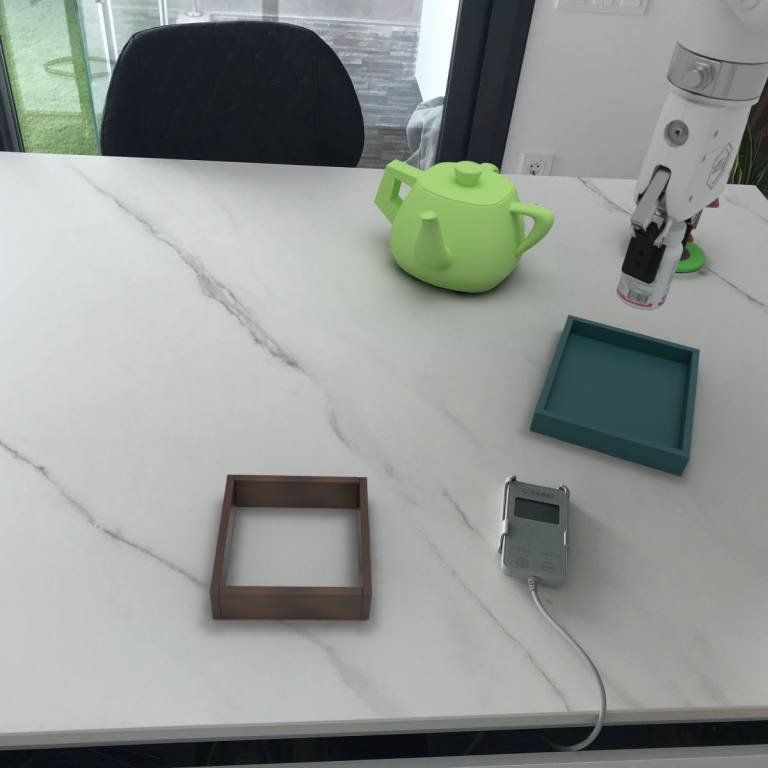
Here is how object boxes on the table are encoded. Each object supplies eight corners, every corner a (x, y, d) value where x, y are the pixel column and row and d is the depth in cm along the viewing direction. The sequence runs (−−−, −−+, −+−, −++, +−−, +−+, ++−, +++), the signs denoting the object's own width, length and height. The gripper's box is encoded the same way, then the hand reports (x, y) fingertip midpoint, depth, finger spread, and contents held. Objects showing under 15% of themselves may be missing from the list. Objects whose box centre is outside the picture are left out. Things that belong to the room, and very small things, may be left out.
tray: (681, 476, 78) (689, 458, 76) (529, 430, 81) (534, 411, 80) (692, 366, 92) (700, 349, 90) (563, 331, 96) (568, 314, 94)
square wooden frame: (364, 502, 72) (367, 476, 69) (368, 620, 62) (371, 594, 60) (229, 500, 71) (227, 474, 68) (212, 619, 61) (209, 593, 59)
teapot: (490, 227, 115) (507, 133, 106) (546, 303, 100) (573, 201, 91) (367, 236, 110) (375, 138, 101) (409, 316, 95) (421, 210, 86)
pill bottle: (644, 282, 79) (670, 206, 74) (673, 307, 76) (702, 230, 70) (605, 288, 78) (628, 212, 72) (633, 315, 74) (660, 236, 69)
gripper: (718, 110, 56) (645, 317, 67) (798, 66, 66) (723, 252, 78) (625, 80, 59) (571, 282, 71) (715, 43, 70) (655, 225, 81)
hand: (651, 265), depth 74 cm, fingers closed on pill bottle, 4 cm apart
